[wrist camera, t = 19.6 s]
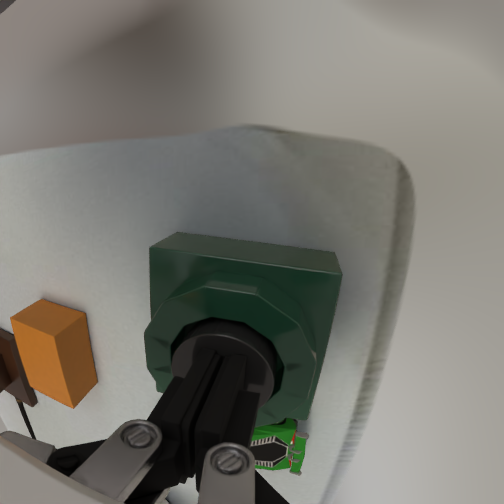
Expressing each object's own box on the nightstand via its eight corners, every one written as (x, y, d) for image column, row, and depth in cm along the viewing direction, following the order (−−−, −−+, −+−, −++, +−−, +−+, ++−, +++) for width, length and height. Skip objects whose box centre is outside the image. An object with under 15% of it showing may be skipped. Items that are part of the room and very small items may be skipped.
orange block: (41, 298, 19) (9, 317, 16) (85, 312, 18) (53, 337, 15) (55, 364, 21) (30, 386, 17) (98, 382, 20) (73, 409, 17)
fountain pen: (39, 441, 28) (44, 449, 27) (33, 444, 27) (37, 452, 26) (12, 358, 24) (17, 367, 23) (3, 361, 23) (7, 370, 22)
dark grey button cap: (188, 302, 13) (168, 324, 11) (285, 317, 12) (280, 344, 10) (188, 377, 14) (173, 404, 12) (272, 392, 13) (267, 423, 11)
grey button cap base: (176, 231, 16) (127, 258, 11) (335, 252, 15) (349, 290, 10) (176, 360, 18) (142, 412, 13) (308, 383, 17) (306, 446, 12)
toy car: (168, 435, 20) (158, 455, 18) (158, 391, 19) (145, 411, 17) (302, 453, 19) (300, 477, 17) (309, 409, 18) (309, 435, 16)
